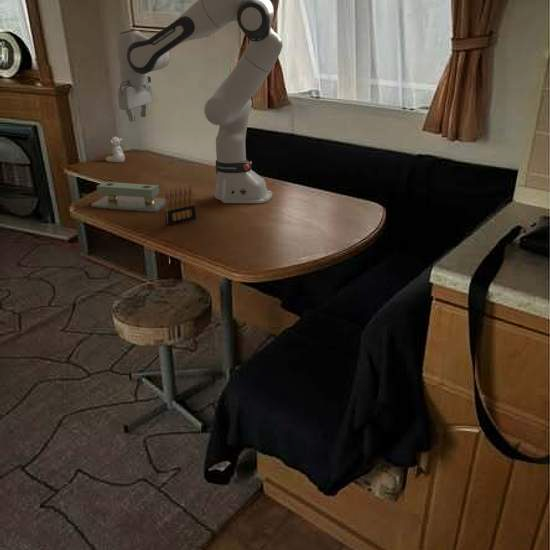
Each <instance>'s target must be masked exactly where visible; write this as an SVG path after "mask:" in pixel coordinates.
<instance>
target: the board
mask: <svg viewBox="0 0 550 550" xmlns="http://www.w3.org/2000/svg"><path fill="white" fill-rule="evenodd" d="M96 192H97V195H104V196H107V195H117V196H131V197H145V198H153V197H154V198H155V196H156V197H157V195H159V194H160V188H159V184H144V183H141V184H140V183H128V182H127V183H125V182H116V181H115V182H112V181H111V182H110V181H104V182H101V183H100V184H98V185H96Z"/></svg>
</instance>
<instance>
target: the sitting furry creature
mask: <svg viewBox="0 0 550 550" xmlns="http://www.w3.org/2000/svg"><path fill="white" fill-rule="evenodd" d="M122 141H123V138H122V137H118V136H113V137H111V139H110V144H111V146H112V151H111V152H112V155H108V156H106V157H105V160H106V162H109V163H123V162H125V159H126V157H125V156H126V155H125V154H124V151H123V149H122V147H121V142H122Z"/></svg>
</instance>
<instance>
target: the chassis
mask: <svg viewBox="0 0 550 550" xmlns="http://www.w3.org/2000/svg"><path fill="white" fill-rule="evenodd" d="M169 201H170V198H169ZM92 206H96V207H102V208H101V209H107V208H109V209H108V210H120V211H121V210H122V211H135V212H149V213H158V212H159V211H161V210H162V209H163V208H166V206H165V198H161V197H160V198H159V197H155V196H154V197H153V198H145V197H131V196H117V195H104V196H103V197H102V198H100V199H97V200H96V201H94V202H93V203H91V207H92Z"/></svg>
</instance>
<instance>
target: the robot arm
mask: <svg viewBox="0 0 550 550" xmlns="http://www.w3.org/2000/svg"><path fill="white" fill-rule="evenodd" d="M275 15H276V9H275V4H274V2H273V1H272V0H196V2H195V3H193V4H192V5H191V6H190V7H188V9H187V10H186V11H184V13H182V14H181V15H180V16H179V17H178V18H177V19H175V20H174V21H173V22H172V23H170V24H169V25H168V26H166V27H165V28H163V29H162V30H161V31H159V32H157V33H156V34H155V35H153V36H152V37H148V36H146V35H144V34H142V32H141V31H139V30H136V29H131V30H127V31H123V32H120V33H118V35H117V42H116V45H117V46H116V47H117V58H118V61H119V64H120V65H119V66H120V68H119V73H120V81H121V83H120V86H119V88H118V91H117V95H118V97H117V98H118V108H119V109H120V110H123V111H125V112H126V113H125V114H127V116H128V121H129V122H134V121H135V122H136V115H134V109H136V108H139V107H141V109H140V117H141V118H145V117H146V118H147V111H148V104H151V103H152V101H153V86H152V84H151V83H152V82H153V78H152V76H150V75H149V74H148V73H151V72H155V71H158V70H162V69H164V68H166V67H167V66H168V64H169V63H170V60H171V54H170V51H171V50H172V49H174V48H175V47H177V46H178V45H181V44H182V43H185V42H188V41H193V40H199V39H204V38H206V37H209V36H211V35H213V34H215V33H217V32H218V31H220V30H221V29H223V28H224V27H225V26H227V25H228V24H229V23H231V22H236V23H237V24H238V27H239V28H240V30H241V31H242V32H243V33H244V34H245V36H246V37H247V38H248V40H249V43H248V45H247V46H246V48H245V50H244V51H243V53H242V55H241V56H240V58H239V59H238V61H237V63H236V64H235V66H234V68H233V69H232V71H231V72H230V74H229V75H228V76H226V78H225V79H224V81H223V82H222V83H221V85H220V86H219V87H218V89H216V91H215V92H214V93H213V95H212V96H211V97H210V98H209V99H207V101H206V103H205V105H204V107H203V108H204V114H205V118H206V119H207V120H208V122H209V123H210V124H212V125H214V126H219V127H218V132H217V135H216V137H215V151H216V160H215V172H216V185H215V186H216V187H215V192H214V198H215V199H217V200H219V201H221V202H222V203H223V204H265V203H266V202H269V201H270V200H271V199H272V198H273V191H271V190H270V189H269V190H268V189H267V183H266V181H265V179H264V178H263V177H262V176H261V175H259V174H258V173H257V172H255V171H254V170H252V164H253V163H252V160H251V161H249V160H248V159H247V153H246V152H247V151H246V148H247V147H246V139H247V131H248V130H247V129H248V122H249V116H250V112H251V110H252V106H253V103H252V102H253V101H252V97H254V95H255V94H256V93H257V92H258V91H260V88H261V87H262V85H263V84H264V82H265V81H266V79H267V78H268V76H269V74H270V73H271V72H272V70H273V68H274V67H275V65H276V62H277V61H278V59H279V57H280V53H281V51H283V40H282V39H281V36H279V34H277V32H275V31H274V29H273V27H272V24H273V21H274V20H275Z"/></svg>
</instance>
